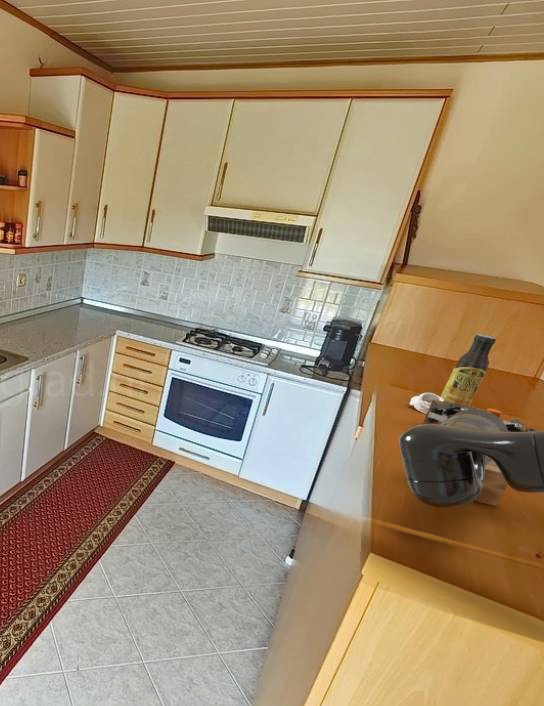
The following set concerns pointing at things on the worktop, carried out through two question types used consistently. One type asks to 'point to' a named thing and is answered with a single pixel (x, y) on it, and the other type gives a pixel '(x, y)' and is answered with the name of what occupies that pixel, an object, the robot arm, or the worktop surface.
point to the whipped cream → (424, 401)
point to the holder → (439, 403)
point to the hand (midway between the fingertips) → (492, 418)
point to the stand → (492, 485)
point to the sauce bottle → (469, 372)
